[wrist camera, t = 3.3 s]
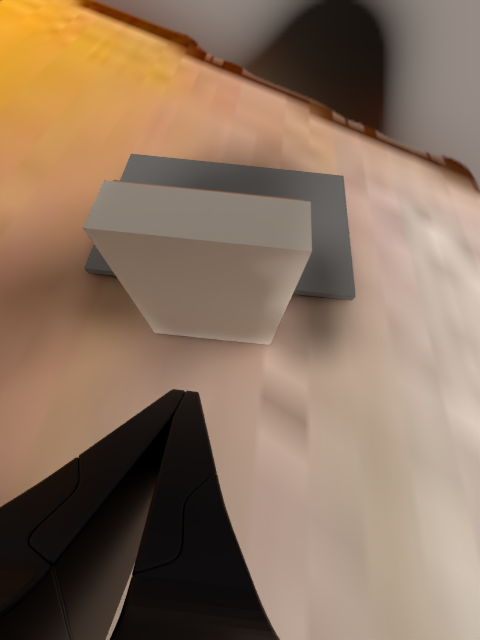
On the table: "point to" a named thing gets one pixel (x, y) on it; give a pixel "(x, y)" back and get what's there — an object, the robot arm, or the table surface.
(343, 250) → the mat
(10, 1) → the table surface
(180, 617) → the robot arm
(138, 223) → the glazed tile
